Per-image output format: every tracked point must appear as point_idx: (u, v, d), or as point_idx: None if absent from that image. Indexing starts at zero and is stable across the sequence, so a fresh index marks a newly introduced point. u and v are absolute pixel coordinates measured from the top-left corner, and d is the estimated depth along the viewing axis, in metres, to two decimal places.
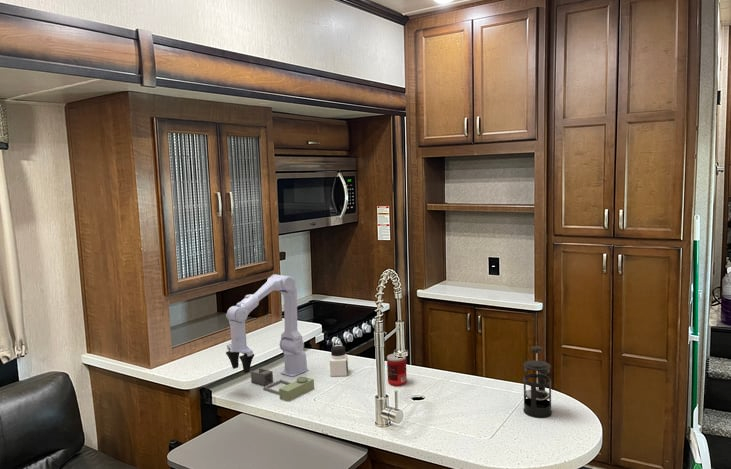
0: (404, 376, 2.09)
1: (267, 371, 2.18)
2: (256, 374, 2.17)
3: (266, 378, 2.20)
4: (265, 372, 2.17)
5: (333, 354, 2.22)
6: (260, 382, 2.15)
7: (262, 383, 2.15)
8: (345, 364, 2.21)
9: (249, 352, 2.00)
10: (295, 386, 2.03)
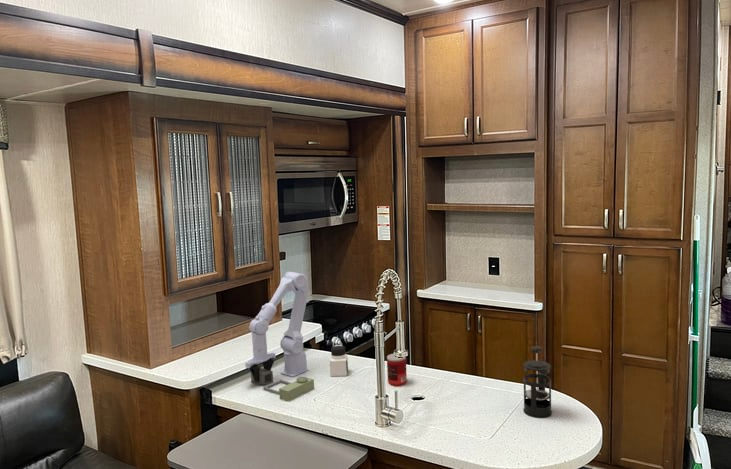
0: (404, 376, 2.09)
1: (267, 371, 2.18)
2: None
3: (266, 378, 2.20)
4: (265, 372, 2.17)
5: (333, 354, 2.22)
6: (260, 381, 2.15)
7: (262, 383, 2.15)
8: (345, 364, 2.21)
9: (246, 364, 2.13)
10: (295, 386, 2.03)
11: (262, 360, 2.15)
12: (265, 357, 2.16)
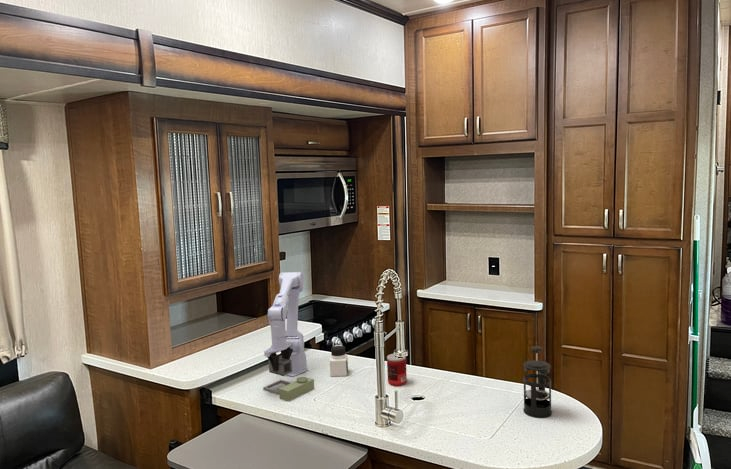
0: (404, 376, 2.09)
1: (286, 360, 2.10)
2: None
3: (284, 367, 2.11)
4: (284, 361, 2.09)
5: (333, 354, 2.22)
6: (279, 371, 2.07)
7: (281, 372, 2.07)
8: (345, 364, 2.21)
9: (265, 352, 2.04)
10: (295, 386, 2.03)
11: (281, 348, 2.07)
12: (284, 345, 2.08)
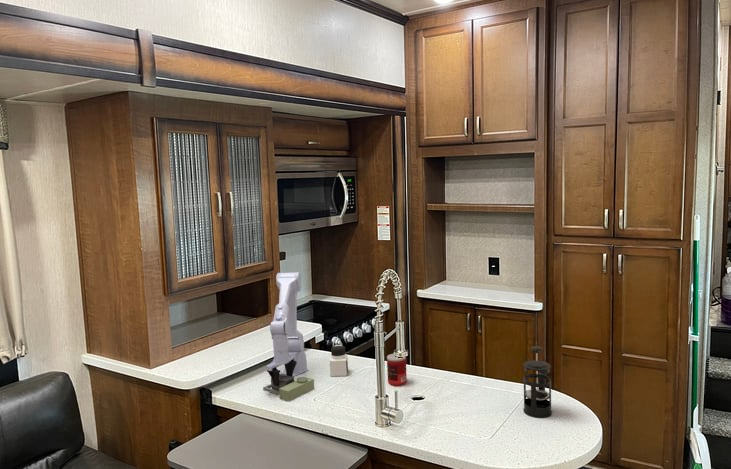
0: (404, 376, 2.09)
1: (288, 377, 2.10)
2: None
3: (287, 384, 2.12)
4: (286, 378, 2.09)
5: (333, 354, 2.22)
6: None
7: None
8: (345, 364, 2.21)
9: (267, 366, 2.04)
10: (295, 386, 2.03)
11: (284, 362, 2.07)
12: (287, 359, 2.08)
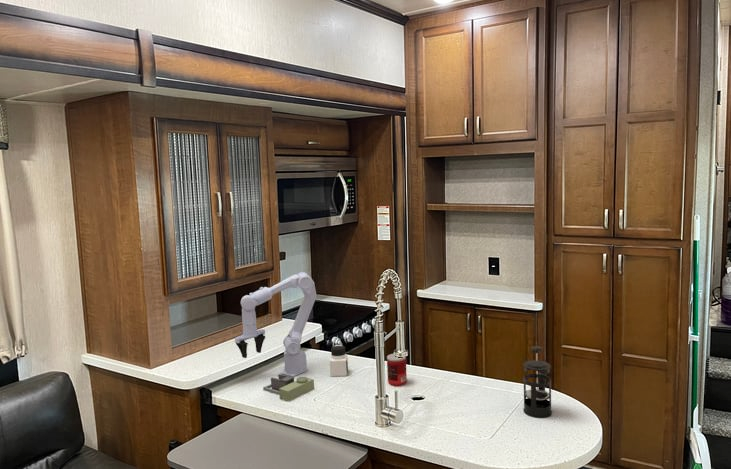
0: (404, 376, 2.09)
1: (288, 377, 2.10)
2: (277, 380, 2.09)
3: (287, 384, 2.12)
4: (286, 378, 2.09)
5: (333, 354, 2.22)
6: None
7: None
8: (345, 364, 2.21)
9: (235, 339, 2.17)
10: (295, 386, 2.03)
11: (251, 336, 2.19)
12: (254, 333, 2.20)
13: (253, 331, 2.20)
